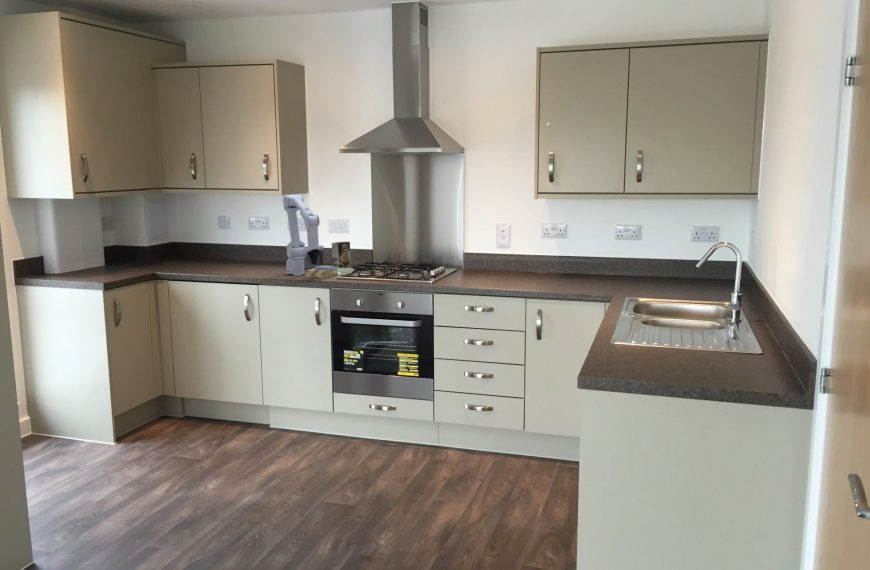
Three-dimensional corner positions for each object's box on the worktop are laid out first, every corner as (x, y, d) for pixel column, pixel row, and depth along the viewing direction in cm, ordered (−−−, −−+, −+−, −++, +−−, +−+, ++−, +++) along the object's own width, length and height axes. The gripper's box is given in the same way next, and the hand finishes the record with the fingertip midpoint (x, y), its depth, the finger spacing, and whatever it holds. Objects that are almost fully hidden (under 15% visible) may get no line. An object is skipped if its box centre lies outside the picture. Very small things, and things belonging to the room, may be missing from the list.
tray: (321, 274, 400) (321, 270, 399) (333, 271, 409) (333, 267, 409) (342, 275, 393) (342, 271, 393) (353, 273, 403) (353, 268, 402)
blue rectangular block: (314, 269, 391) (314, 266, 391) (321, 268, 396) (321, 265, 396) (327, 270, 387) (327, 267, 386) (334, 268, 392) (334, 266, 392)
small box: (324, 267, 429) (323, 250, 427) (320, 269, 422) (319, 251, 421) (307, 267, 431) (306, 250, 429) (303, 269, 424) (302, 251, 423)
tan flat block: (306, 277, 391) (305, 270, 391) (318, 274, 401) (318, 267, 400) (325, 278, 385) (325, 271, 384) (337, 275, 395) (337, 268, 394)
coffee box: (340, 271, 410) (339, 243, 407) (332, 270, 414) (330, 242, 411) (351, 269, 417) (350, 241, 415) (343, 268, 421) (342, 241, 419)
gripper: (310, 240, 373) (311, 266, 375) (327, 237, 386) (328, 262, 388) (299, 239, 376) (301, 265, 378) (316, 237, 389) (318, 262, 391)
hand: (314, 264), depth 383 cm, fingers closed
